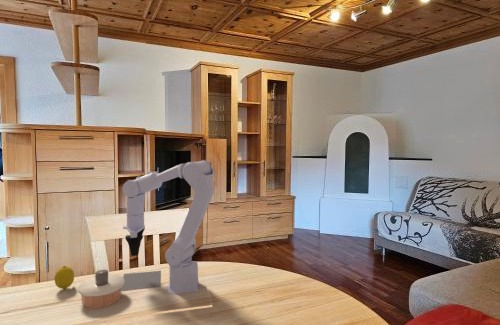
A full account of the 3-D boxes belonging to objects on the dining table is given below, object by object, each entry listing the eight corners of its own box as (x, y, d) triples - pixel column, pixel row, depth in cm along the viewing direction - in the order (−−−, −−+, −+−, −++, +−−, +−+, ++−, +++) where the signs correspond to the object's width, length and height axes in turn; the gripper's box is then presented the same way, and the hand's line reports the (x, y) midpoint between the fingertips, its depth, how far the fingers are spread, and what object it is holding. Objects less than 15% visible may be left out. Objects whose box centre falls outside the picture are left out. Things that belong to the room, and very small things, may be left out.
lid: (125, 274, 104) (125, 261, 104) (123, 292, 92) (123, 278, 91) (82, 279, 100) (82, 266, 100) (73, 299, 88) (73, 284, 87)
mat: (160, 272, 117) (160, 270, 117) (160, 288, 104) (160, 286, 104) (123, 275, 113) (123, 274, 113) (119, 292, 101) (119, 291, 101)
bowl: (122, 289, 103) (122, 276, 102) (118, 306, 92) (118, 292, 92) (86, 293, 100) (86, 279, 100) (78, 311, 90) (77, 296, 89)
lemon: (65, 294, 99) (64, 270, 98) (50, 292, 100) (50, 268, 99) (78, 286, 104) (77, 263, 104) (64, 284, 105) (63, 261, 105)
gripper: (125, 209, 114) (126, 245, 115) (120, 219, 100) (120, 260, 101) (145, 208, 116) (145, 243, 117) (143, 218, 102) (143, 258, 103)
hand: (135, 251), depth 109 cm, fingers open, 7 cm apart
